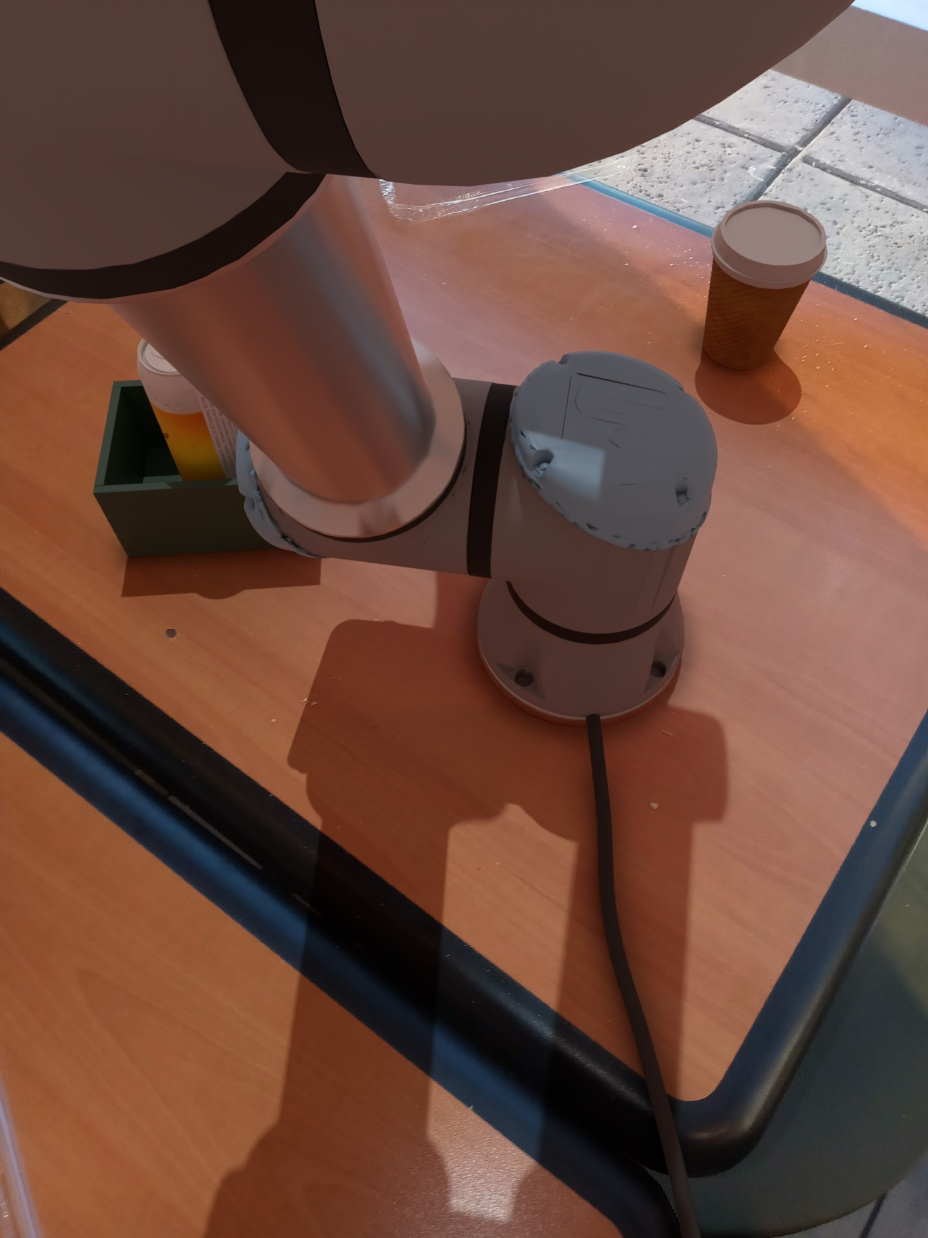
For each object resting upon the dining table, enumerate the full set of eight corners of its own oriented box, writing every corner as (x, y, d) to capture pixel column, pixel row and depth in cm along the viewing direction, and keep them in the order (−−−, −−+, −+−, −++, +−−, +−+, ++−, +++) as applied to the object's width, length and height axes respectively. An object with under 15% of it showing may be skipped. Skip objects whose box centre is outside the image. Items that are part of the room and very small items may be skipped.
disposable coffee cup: (810, 354, 84) (857, 240, 74) (734, 397, 81) (772, 284, 71) (738, 298, 88) (774, 182, 78) (663, 336, 85) (690, 222, 75)
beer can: (221, 451, 77) (171, 305, 64) (279, 479, 75) (239, 335, 62) (174, 499, 74) (112, 357, 61) (233, 529, 72) (181, 390, 60)
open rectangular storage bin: (321, 546, 73) (306, 480, 66) (127, 557, 72) (92, 493, 65) (323, 439, 79) (309, 369, 72) (144, 450, 78) (113, 380, 71)
